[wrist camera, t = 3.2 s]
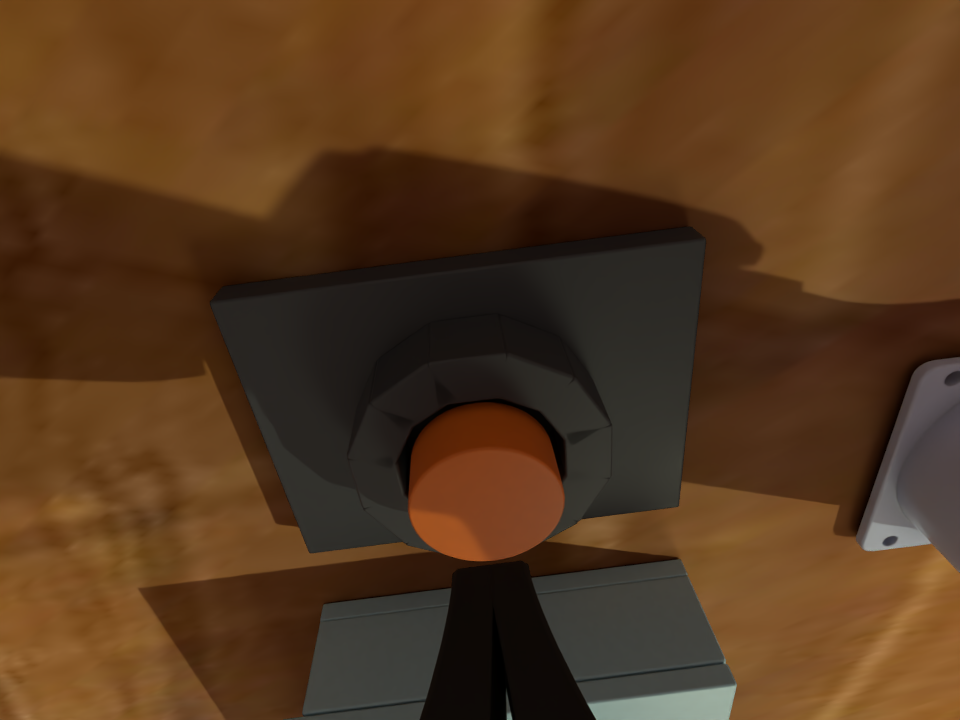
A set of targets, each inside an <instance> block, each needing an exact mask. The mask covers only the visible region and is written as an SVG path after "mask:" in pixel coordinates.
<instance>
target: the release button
mask: <svg viewBox="0 0 960 720" xmlns="http://www.w3.org/2000/svg"><path fill="white" fill-rule="evenodd" d="M564 505H565V495H564V489H563V485H562V481H561V477H560V474H559V470H558V466H557V462H556V459H555V455H554V451H553V447H552V444H551V441H550V438H549V436H548V434H547V432H546V430H545V429H544V428H543V426H542V425H541V424H540V423H539V422H538V421H537V420H536V419H535V418H533V417H532V416H531V415H529V414H528V413H526V412H524V411H523V410H521V409H518V408H516V407H513V406H510V405H506V404H502V403H495V402H476V403H470V404H464V405H461V406H457V407H454V408H452V409H450V410H447V411H445V412H444V413H442V414H440V415H438V416H437V417H436V418H434V419H433V420H432V421H431V422H429V423H428V424H427V425H426V426H425V427H424V429H423V430H422V431H421V432H420V434H419V435H418V437H417V439H416V441H415V443H414V446H413V449H412V454H411V466H410V481H409V497H408V513H409V518H410V521H411V524H412V526H413V528H414V529H415V531H416V533H417V534H418V535H419V537H420V538H421V539H422V540H423V541H424V542H425V543H426V544H428V545H429V546H430V547H432V548H433V549H435V550H437V551H439V552H440V553H443V554H445V555H448V556H451V557H454V558H457V559H462V560H469V561H494V560H500V559H505V558H509V557H513V556H516V555H518V554H521V553H523V552H525V551H528V550H530V549H531V548H533V547H535V546H536V545H538V544H539V543H541V542H542V541H543V540H544V539H546V538H547V537H548V536H549V535H550V534H551V532H552V531H553V530H554V529H555V527H556V526H557V524H558V522H559V521H560V518H561V516H562V513H563V509H564Z"/></svg>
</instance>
